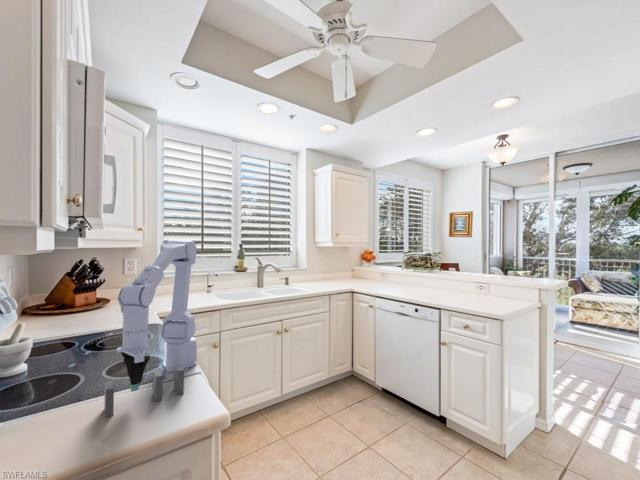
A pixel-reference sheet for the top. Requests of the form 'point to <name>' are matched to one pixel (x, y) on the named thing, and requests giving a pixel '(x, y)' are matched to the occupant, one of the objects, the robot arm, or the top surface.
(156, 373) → the domino
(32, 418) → the top surface
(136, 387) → the domino
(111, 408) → the domino
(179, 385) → the domino
